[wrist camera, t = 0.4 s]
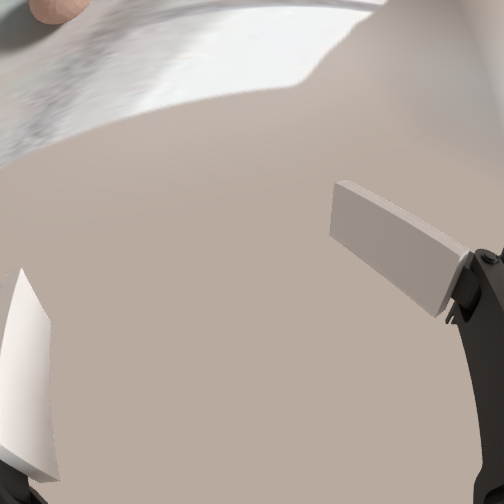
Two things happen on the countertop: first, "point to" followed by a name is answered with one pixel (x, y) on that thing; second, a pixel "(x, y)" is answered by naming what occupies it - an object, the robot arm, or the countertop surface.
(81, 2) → the egg
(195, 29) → the countertop surface
